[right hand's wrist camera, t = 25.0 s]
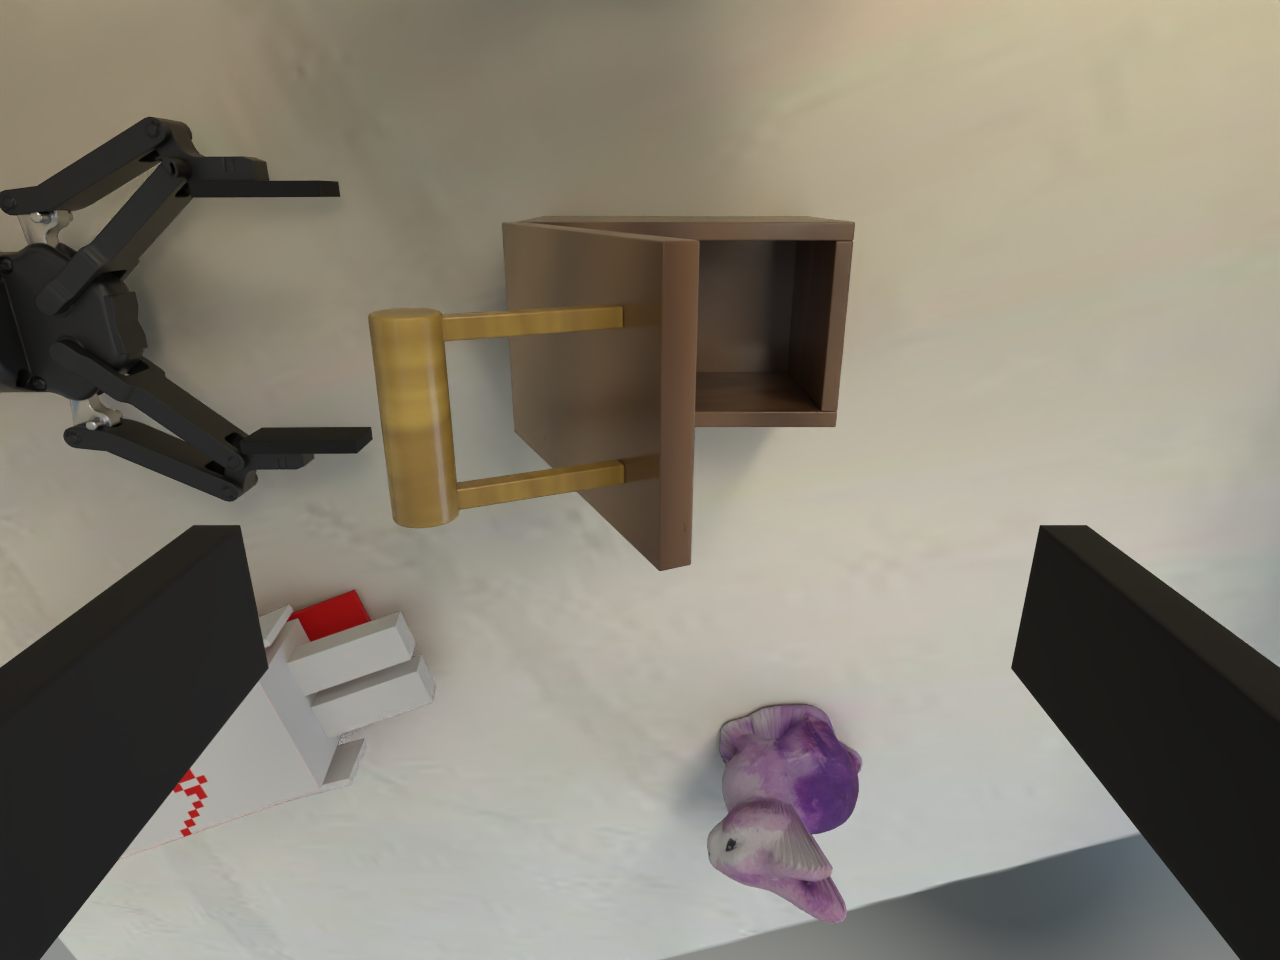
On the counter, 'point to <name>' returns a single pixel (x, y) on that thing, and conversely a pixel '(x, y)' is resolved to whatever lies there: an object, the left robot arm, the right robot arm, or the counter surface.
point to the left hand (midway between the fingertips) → (348, 321)
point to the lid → (561, 384)
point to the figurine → (784, 805)
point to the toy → (298, 716)
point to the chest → (760, 313)
